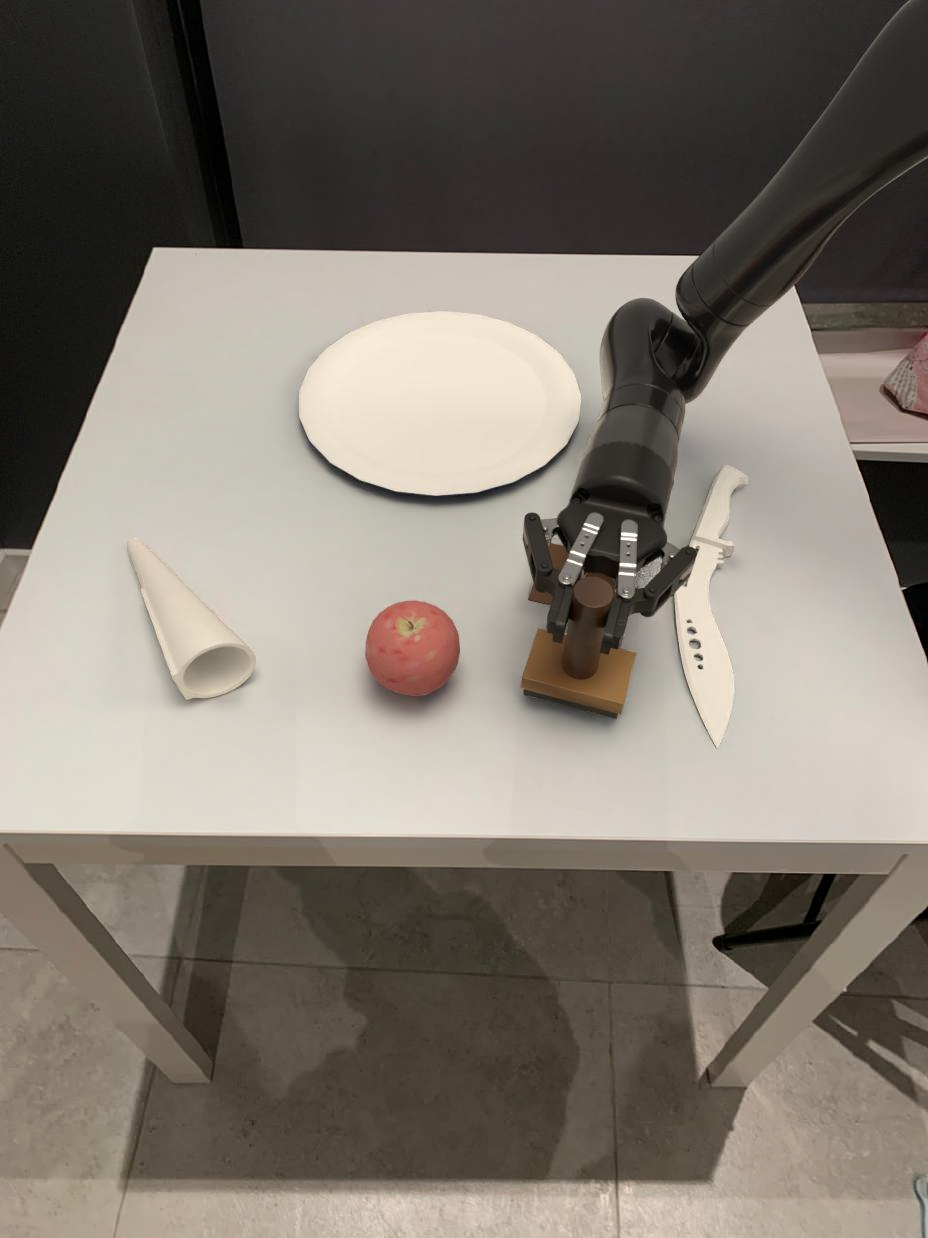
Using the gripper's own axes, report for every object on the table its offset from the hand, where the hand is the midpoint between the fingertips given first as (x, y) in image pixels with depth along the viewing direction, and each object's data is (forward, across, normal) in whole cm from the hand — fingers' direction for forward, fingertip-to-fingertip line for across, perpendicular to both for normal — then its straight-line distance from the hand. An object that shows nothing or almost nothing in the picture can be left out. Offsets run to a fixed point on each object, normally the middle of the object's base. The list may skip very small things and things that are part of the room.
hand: (582, 641), depth 65 cm
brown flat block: (-15, -2, +11) cm, 19 cm away
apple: (-1, -13, +11) cm, 17 cm away
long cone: (-2, -34, +11) cm, 36 cm away
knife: (-16, +10, +11) cm, 22 cm away
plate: (-34, -21, +12) cm, 41 cm away
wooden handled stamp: (-3, 0, +10) cm, 10 cm away
